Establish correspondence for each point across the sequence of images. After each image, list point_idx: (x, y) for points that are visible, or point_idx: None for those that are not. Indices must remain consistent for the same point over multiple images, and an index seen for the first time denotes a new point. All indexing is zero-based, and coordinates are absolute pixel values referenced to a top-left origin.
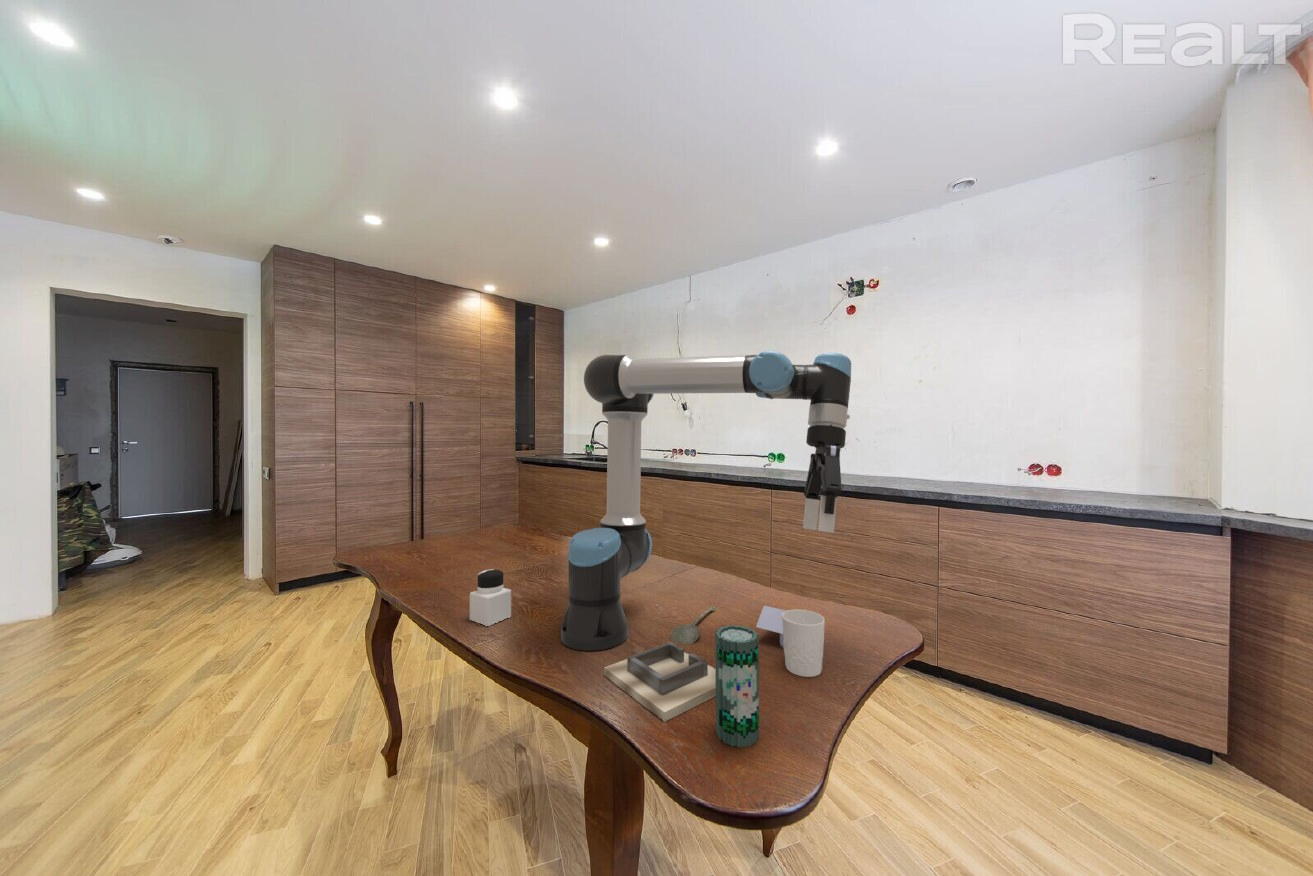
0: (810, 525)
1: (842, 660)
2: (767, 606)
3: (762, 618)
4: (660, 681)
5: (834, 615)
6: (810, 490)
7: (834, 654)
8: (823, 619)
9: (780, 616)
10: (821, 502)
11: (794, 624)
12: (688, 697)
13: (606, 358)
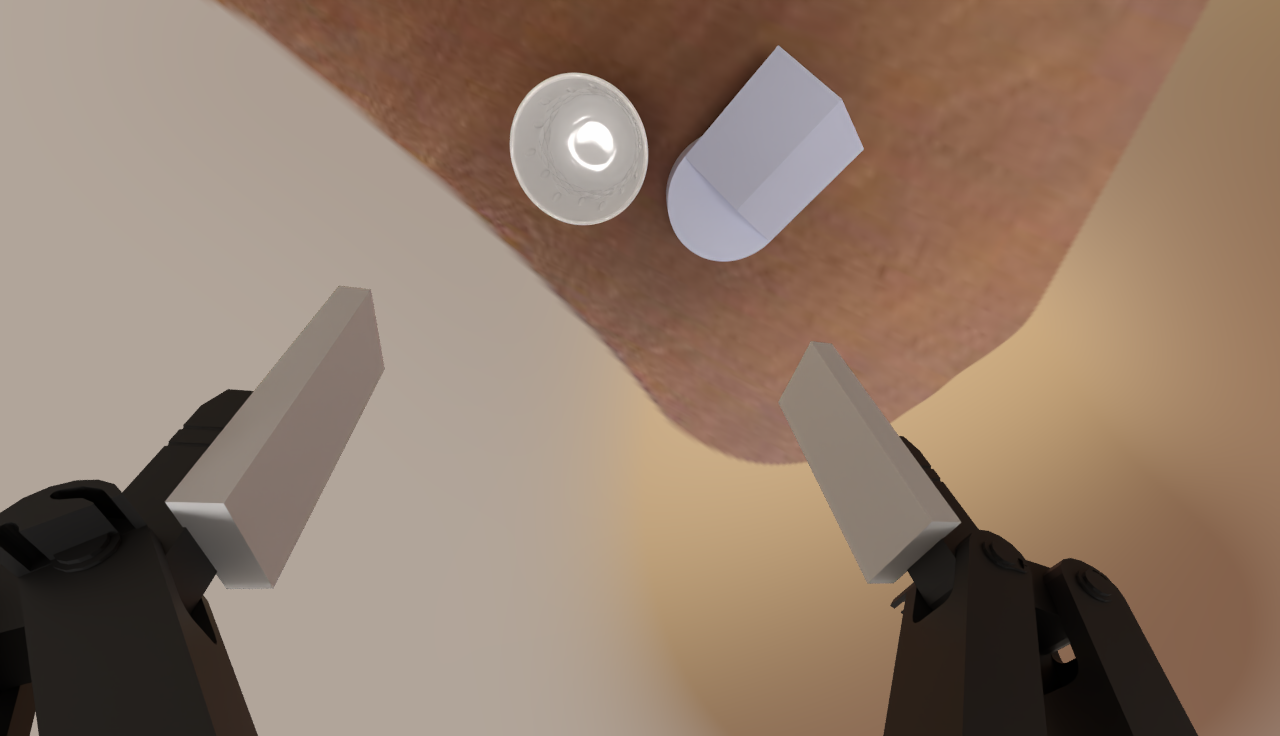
0: (802, 390)
1: (630, 260)
2: (830, 111)
3: (794, 77)
4: None
5: (869, 359)
6: (952, 622)
7: (661, 256)
8: (557, 216)
9: (766, 142)
10: (215, 439)
11: (525, 97)
12: None
13: None
